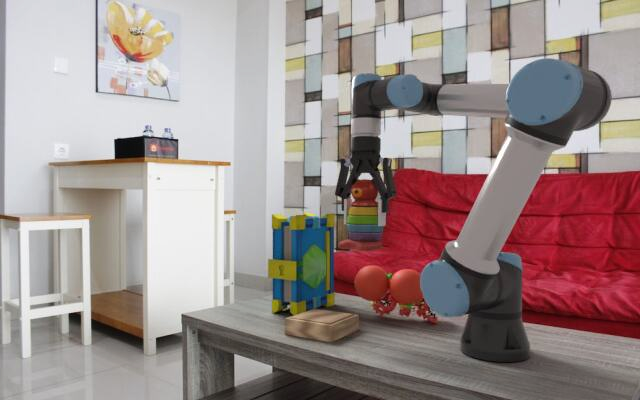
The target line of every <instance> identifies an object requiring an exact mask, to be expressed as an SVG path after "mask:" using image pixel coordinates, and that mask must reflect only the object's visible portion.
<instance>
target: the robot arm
mask: <svg viewBox="0 0 640 400" xmlns="http://www.w3.org/2000/svg"><path fill="white" fill-rule="evenodd" d="M350 93H351V118H350V119H351V120H350V121H351V123H350V124H351V125H350V135H352V136H353V137H351V138H350V151H351V155H350V158H341V159H340V160H339V162H340V163H339V164H340V165H339V166H340V167H339V173H338V176H337V177H338V179H337V181H336V182H337V183H336V187H335V191H334V195H335V196H336V197H339V198H341V199H340V200H341V212H343V225H347V224H348V223H347V217H348V215H349V214H348V213H349V208H350V207H351V204H352V202H353V199H352V198H351V196H352V194H351V189H352V187H353V185H354V184H355V181H356V180H357V179H359V178H360V176H361V175H362V174H369V175H370V176H371V177H372V178H371V179H373V180H374V183H375V185H376V187H377V189H378V195H379V196H380V198H379V199H378V200H377V202H378V226H384V227H386V225H387V224H386V223H387V222H386V220H387V219H386V218H387V217H386V215H387V213H388V214H389V211H390V199H392V198H396V197H397V190H396V189H397V188H396V185H395V181H394V180H395V179H394V175H393V171H392V162H393V159H392V158H391V157H382V156H381V145H382V143H381V140H382V139H381V137H379V136H381V133H382V132H381V131H382V130H381V129H382V128H381V127H382V112H384V111H385V112H386V111H391V110H398V111H404V112H405V111H407V112H410V113H411V112H412V113H419V114H424V115H429V116H432V117H440V116H457V117H475V118H492V119H493V118H497V119H504V122H503V124H504V126H505V130H506V133H507V135H506V137H505V139H504V141H503V143H502V146H501V147H500V149H499V151H498V153H497V156H496V158H495V160H494V161H493V164H492V166H491V168H490V170H489V172H488V174H487V176H486V178H485V181H484V182H483V185H482V186H481V189H480V191H479V193H478V195H477V198H476V200H475V201H474V204H473V205H472V207H471V210H470V212H469V213H468V216H467V218H466V220H465V222H464V223H463V224H464V225H463V226H462V228H461V230H460V233H459V235H458V237H457V238H456V239H455V240H451V241H450V240H449V241H448V242H447V243H446V244H445V246H444V249H443V251H442V253H441V254H440V257H439V258H438V259H436V260H433V261H431V262H429V263H428V264H426V265H425V266H424V267H423V269H422V271H421V273H420V274H421V277H420V288H421V291H422V293H423V299H424V301H425V302H426V303H427V305H428V306H429V307H430V310H431V309H432V310H433V311H432V310H431V311H432V312H433V313H434V314H436V315H438V316H441V317H444V318H454V317H455V318H457V317H458V318H460V317H463V316H464V315H467V317H466V322H465V325H464V327H463V331H462V334H461V336H460V340H459V350H460V352H461V353H462V354H464V355H466V356H469V357H471V358H475V359H477V360H478V359H479V360H482V361H490V362H499V363H501V362H502V363H512V362H515V363H516V362H520V361H525V360H527V359H529V358H530V357H531V344H530V341H529V337H528V335H527V331H526V329H525V326H524V322H523V272H524V269H523V263H522V262H523V261H522V257H521V256H520V255H519V254H517V253H513V252H505V251H504V252H503V251H502V248H503V247H504V245H505V244H506V242H507V239H508V237H509V236H510V234H511V232H512V230H513V228H514V226H515V224H516V223H517V221H518V218H519V217H520V215H521V213H522V211H523V210H524V207H525V205H526V203H527V202H528V200H529V198H530V195H531V194H532V191H533V190H534V188H535V187H536V184H537V182H538V181H539V180H540V178H541V175H542V173H543V171H544V169H545V168H546V165H547V164H548V161H549V160H550V158H551V156H552V154H553V153H554V152H555V151H558V150H561V149H563V148H566V147H567V144H568V143H569V141H570V140H571V137H572V135H573V133H574V132H581V131H584V130H589V129H591V128H593V127H595V126H596V125H598V124H599V123H600V122H602V120H604V118H605V117H606V116H607V114H608V113H609V110H610V108H611V105H612V100H613V98H612V90H611V86H610V85H609V83H608V81H607V79H605V78H604V77H603V76H602V75H601V74H599V73H597V72H596V71H593V70H591V69H588V68H585V67H582V66H578V65H577V64H575V63H573V62H569V61H567V60H562V59H560V58H559V59H555V58H548V57H547V58H545V57H544V58H540V59H536V60H533V61H530V62H529V63H527V64H525V65H524V66H523V67H521V68H520V69H519V70H518V71H517V72H516V73H515V74H514V75H513V77H512V78H511V79H510V81H509V83H455V84H454V83H449V84H448V83H446V84H445V83H444V84H443V83H441V84H439V83H427V82H424V81H421V79H419V78H418V77H417V76H416V75H414V74H411V73H408V74H399V75H395V76H392V77H387V78H382V76H381V75H380V74H377V73H372V72H369V73H368V72H367V73H359V74H356V75H354V77H353V78H352V84H351V90H350ZM351 165H352V168H351V171H350V167H351ZM380 165H381V167H382V172H383V173H382V174H383V177H384V178H383V177H382V176H381V171H380V169H379V168H378V167H379V166H380ZM349 171H350V172H349ZM349 173H350V175H349ZM348 176H349V177H348Z"/></svg>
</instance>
